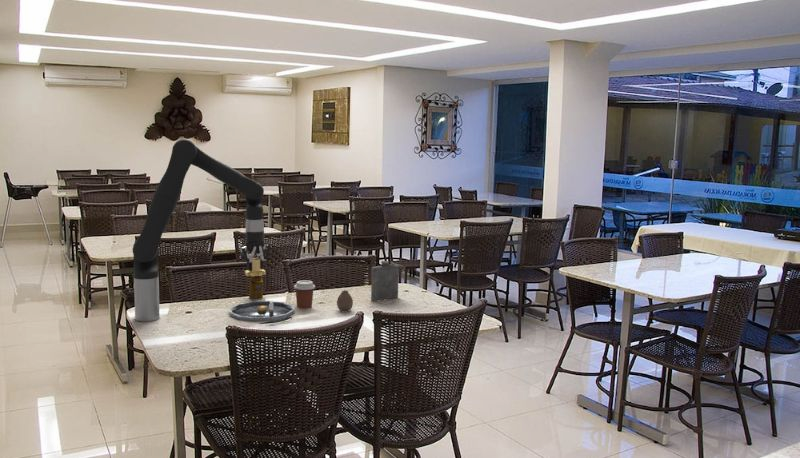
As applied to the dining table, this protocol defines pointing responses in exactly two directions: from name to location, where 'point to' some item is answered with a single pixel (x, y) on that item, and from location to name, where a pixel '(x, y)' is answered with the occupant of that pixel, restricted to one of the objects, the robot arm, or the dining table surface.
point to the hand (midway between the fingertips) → (255, 269)
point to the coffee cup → (304, 293)
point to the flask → (384, 281)
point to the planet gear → (255, 268)
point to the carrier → (262, 311)
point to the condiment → (256, 287)
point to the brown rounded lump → (344, 301)
